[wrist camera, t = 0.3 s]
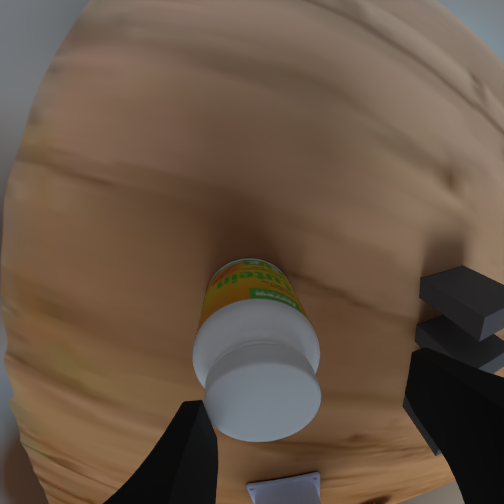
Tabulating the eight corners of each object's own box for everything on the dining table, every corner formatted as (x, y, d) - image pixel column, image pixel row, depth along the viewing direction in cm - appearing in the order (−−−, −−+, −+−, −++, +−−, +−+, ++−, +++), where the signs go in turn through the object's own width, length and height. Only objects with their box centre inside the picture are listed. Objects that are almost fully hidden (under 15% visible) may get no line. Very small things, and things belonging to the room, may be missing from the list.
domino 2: (461, 283, 19) (520, 317, 12) (419, 297, 19) (479, 341, 12) (462, 265, 19) (525, 295, 12) (420, 277, 19) (484, 317, 12)
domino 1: (440, 390, 22) (476, 432, 15) (402, 406, 22) (435, 456, 15) (443, 378, 22) (481, 421, 15) (405, 395, 22) (440, 445, 15)
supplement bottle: (290, 253, 17) (351, 332, 8) (291, 331, 19) (332, 442, 9) (201, 259, 17) (167, 348, 8) (210, 337, 18) (197, 455, 9)
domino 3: (455, 325, 20) (506, 364, 13) (414, 341, 20) (464, 391, 13) (458, 309, 20) (512, 347, 13) (416, 324, 20) (470, 372, 13)
